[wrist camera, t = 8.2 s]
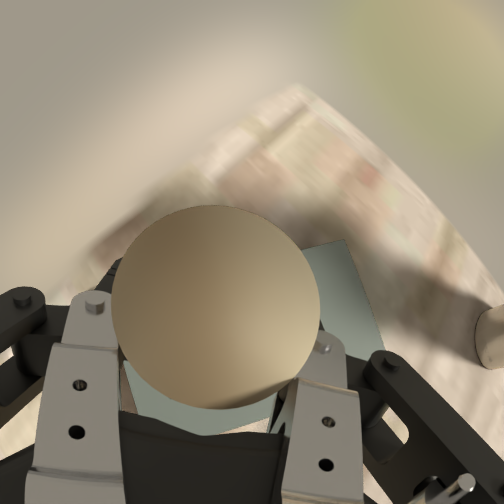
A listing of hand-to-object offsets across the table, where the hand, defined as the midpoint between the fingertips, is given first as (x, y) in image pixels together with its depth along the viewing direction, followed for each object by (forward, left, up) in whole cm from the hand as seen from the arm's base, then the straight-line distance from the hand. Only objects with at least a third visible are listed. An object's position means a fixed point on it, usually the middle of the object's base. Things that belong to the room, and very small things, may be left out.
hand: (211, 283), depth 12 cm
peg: (+1, +2, -4) cm, 4 cm away
